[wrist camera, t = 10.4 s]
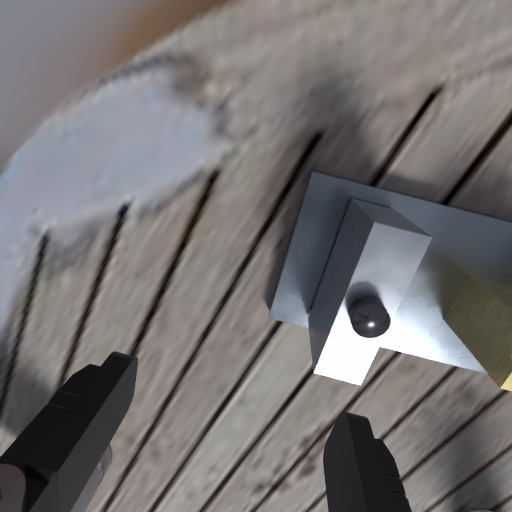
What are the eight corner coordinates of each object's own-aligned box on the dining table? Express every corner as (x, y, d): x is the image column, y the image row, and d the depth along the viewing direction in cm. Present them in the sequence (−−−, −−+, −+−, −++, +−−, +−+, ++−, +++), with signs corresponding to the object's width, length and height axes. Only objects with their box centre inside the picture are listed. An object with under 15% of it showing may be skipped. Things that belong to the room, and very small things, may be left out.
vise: (269, 310, 27) (263, 369, 20) (311, 169, 22) (321, 186, 15) (517, 373, 27) (594, 454, 20) (611, 246, 22) (749, 296, 16)
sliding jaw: (307, 319, 25) (315, 385, 18) (351, 198, 21) (379, 228, 15) (344, 328, 25) (364, 397, 18) (394, 209, 21) (441, 243, 15)
